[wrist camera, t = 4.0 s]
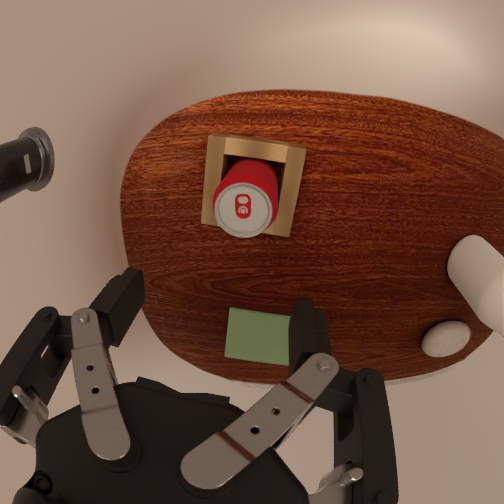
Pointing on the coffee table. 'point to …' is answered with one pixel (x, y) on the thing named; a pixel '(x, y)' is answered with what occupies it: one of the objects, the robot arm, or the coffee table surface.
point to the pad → (257, 336)
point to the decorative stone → (446, 339)
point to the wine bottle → (480, 279)
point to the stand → (261, 149)
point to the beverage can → (247, 198)
